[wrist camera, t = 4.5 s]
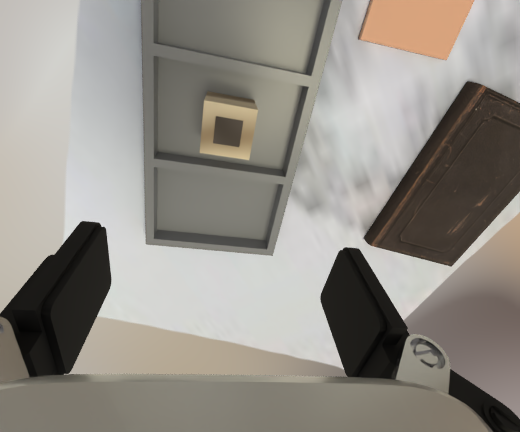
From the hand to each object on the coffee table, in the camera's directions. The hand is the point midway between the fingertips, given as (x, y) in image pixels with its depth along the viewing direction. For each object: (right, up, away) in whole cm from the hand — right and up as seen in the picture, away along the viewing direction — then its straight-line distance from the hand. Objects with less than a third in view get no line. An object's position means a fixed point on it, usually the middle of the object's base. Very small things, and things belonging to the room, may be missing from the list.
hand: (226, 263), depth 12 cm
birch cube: (-2, +13, +20) cm, 24 cm away
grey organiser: (-2, +13, +21) cm, 24 cm away
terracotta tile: (+17, +24, +16) cm, 33 cm away
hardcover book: (+28, +6, +29) cm, 41 cm away
